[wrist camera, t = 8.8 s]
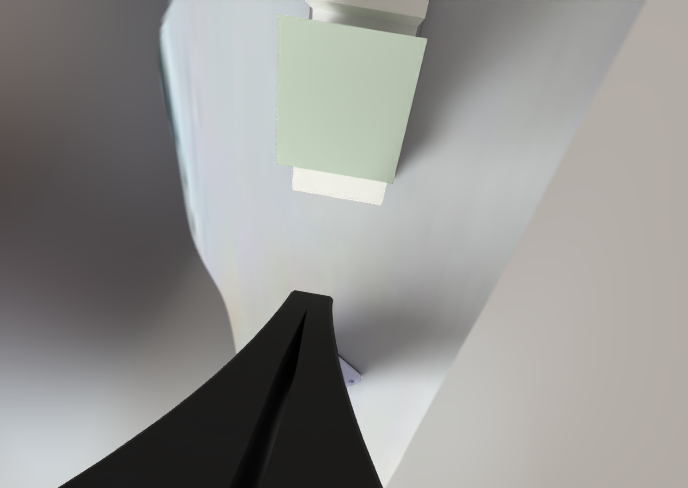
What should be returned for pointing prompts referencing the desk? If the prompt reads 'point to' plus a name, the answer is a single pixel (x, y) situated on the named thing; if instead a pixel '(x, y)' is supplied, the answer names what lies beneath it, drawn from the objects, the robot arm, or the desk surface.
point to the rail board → (371, 13)
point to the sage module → (344, 97)
